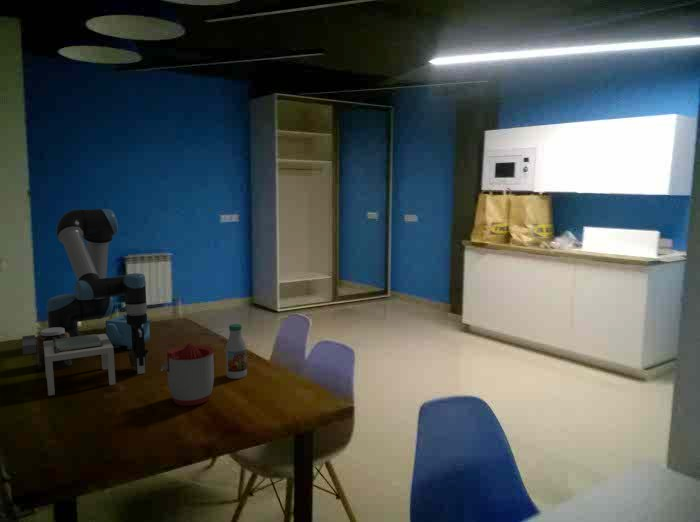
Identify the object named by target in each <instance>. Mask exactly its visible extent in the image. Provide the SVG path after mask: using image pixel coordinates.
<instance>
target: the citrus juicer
mask: <svg viewBox="0 0 700 522" xmlns="http://www.w3.org/2000/svg"><path fill="white" fill-rule="evenodd" d="M214 353H215V349H214V348H212V347H210V346H207V345H197V344H196V345H195V344H193V343H187V344H186V345H184V346H178V347H175V348H172V349H170V350H168V351H167V355H166V357H167V358H166V362H164V363H162V365H161V368H160V371H161V372H164V371H167V384H168V389H169V393H170V395H171V398H172V400H173V402H174V404H175V405H179V406H180V407H184V406H188V407H189V406H190V407H191V406H197V405H201V404H205V403H206V402H207V401H210V398H211V395H212V392H213V387H214V382H215V369H214V368H215V366H214V364H215V363H214V362H215V361H214Z"/></svg>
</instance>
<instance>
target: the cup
mask: <svg viewBox="0 0 700 522" xmlns="http://www.w3.org/2000/svg"><path fill="white" fill-rule="evenodd" d="M127 354H128V359H129V364H130V366H131V367H132V368H134V372H136V373H138V372H137V358H135V357H137V349H136V350H135V351H134V350H133V349H132V350H130V351H128V352H127ZM145 354H146V356H145V367H146V366H147V364H148V361H149V350H148V349H147V348H145Z"/></svg>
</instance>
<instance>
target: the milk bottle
mask: <svg viewBox="0 0 700 522" xmlns="http://www.w3.org/2000/svg"><path fill="white" fill-rule="evenodd" d="M228 329H229V336H228V339H227V341H226V345H225V373H226V377H227V378H229V379H234V380H235V379H238V380H239V379H242V378H245V377H246V376H247V374H248V367H247V346H246V342H245V341H246V340H245V339H244V337H243V335H242V329H243V327H242V324H239V323H233V324H230V325H229V327H228Z"/></svg>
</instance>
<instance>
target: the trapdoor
mask: <svg viewBox="0 0 700 522" xmlns="http://www.w3.org/2000/svg"><path fill="white" fill-rule="evenodd" d="M97 335H98V334H97V333H94V334H93V333H91V334H84V335H81V336H76V337H68V338H60V339H55V343H56V348H59V351H63V350H71V351H72V350H79V349H87V348H94V347H101V343H100V341H99V339H98V337H97ZM21 342H22V345H21V346H22V355H30V354H37V339H36V334H31V335H24V336H22V339H21Z"/></svg>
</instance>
